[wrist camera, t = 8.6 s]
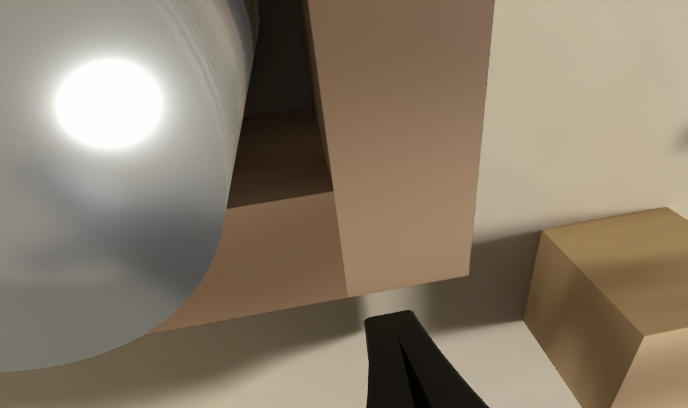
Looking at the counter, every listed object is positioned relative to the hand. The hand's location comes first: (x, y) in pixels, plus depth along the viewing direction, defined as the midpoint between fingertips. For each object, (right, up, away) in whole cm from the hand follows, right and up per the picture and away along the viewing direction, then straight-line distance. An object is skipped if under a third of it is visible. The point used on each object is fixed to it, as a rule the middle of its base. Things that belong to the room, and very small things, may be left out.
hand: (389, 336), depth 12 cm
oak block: (+7, +2, +2) cm, 7 cm away
